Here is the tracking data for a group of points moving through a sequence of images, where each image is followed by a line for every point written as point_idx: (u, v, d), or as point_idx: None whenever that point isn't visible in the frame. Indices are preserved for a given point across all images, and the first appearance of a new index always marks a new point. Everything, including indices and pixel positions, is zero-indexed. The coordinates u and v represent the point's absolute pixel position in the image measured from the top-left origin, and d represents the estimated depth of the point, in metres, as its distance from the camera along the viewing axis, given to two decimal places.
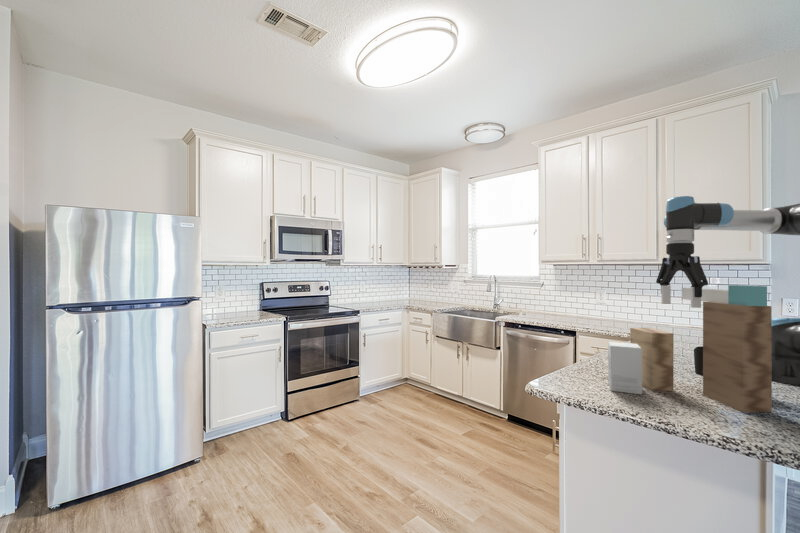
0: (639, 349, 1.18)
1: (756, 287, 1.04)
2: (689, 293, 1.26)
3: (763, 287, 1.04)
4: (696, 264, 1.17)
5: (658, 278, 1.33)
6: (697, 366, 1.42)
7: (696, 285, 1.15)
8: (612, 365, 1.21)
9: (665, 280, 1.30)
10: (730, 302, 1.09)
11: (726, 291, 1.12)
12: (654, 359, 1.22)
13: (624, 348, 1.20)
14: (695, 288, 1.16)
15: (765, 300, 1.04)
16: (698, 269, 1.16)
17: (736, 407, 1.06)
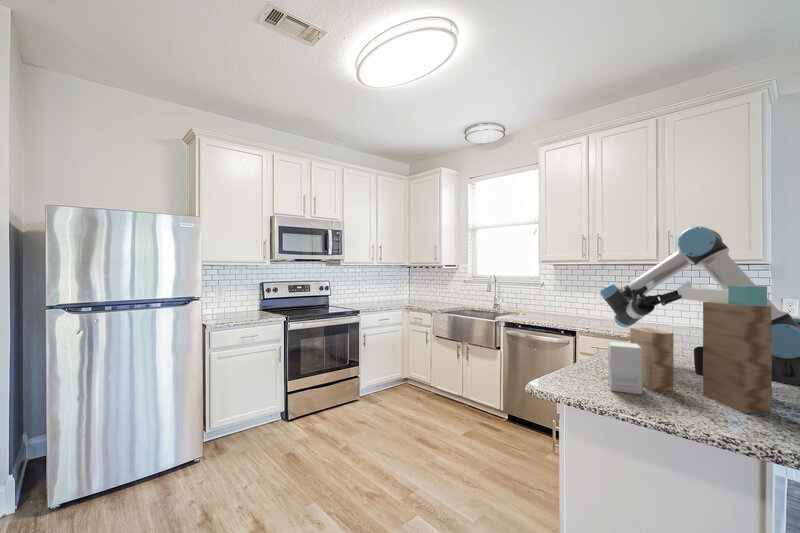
0: (639, 349, 1.18)
1: (756, 287, 1.04)
2: (689, 293, 1.26)
3: (763, 287, 1.04)
4: (632, 299, 1.50)
5: (681, 297, 1.45)
6: (697, 366, 1.42)
7: (639, 294, 1.44)
8: (612, 365, 1.21)
9: (674, 295, 1.44)
10: (730, 302, 1.09)
11: (726, 291, 1.12)
12: (654, 359, 1.22)
13: (624, 348, 1.20)
14: (642, 292, 1.43)
15: (765, 300, 1.04)
16: (632, 297, 1.49)
17: (736, 407, 1.06)
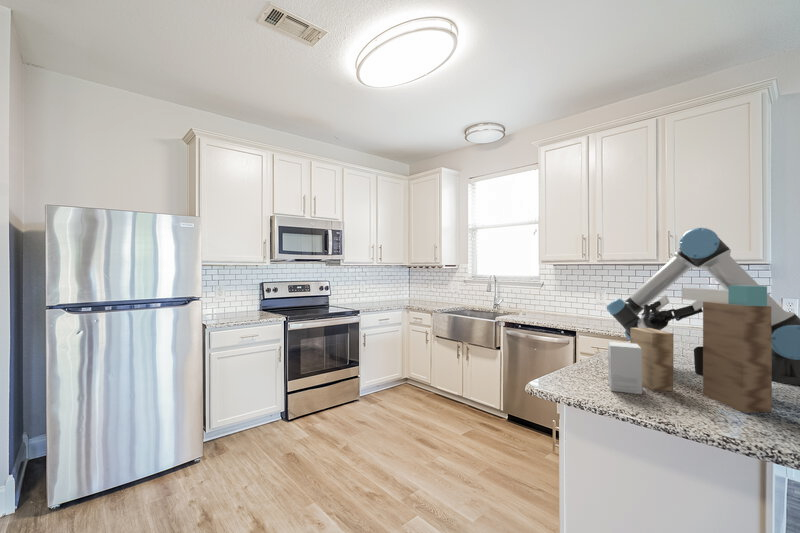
0: (639, 349, 1.18)
1: (756, 287, 1.04)
2: (689, 293, 1.26)
3: (763, 287, 1.04)
4: (644, 314, 1.41)
5: (697, 313, 1.36)
6: (697, 366, 1.42)
7: (652, 309, 1.35)
8: (612, 365, 1.21)
9: (689, 310, 1.36)
10: (730, 302, 1.09)
11: (726, 291, 1.12)
12: (654, 359, 1.22)
13: (624, 348, 1.20)
14: (656, 307, 1.34)
15: (765, 300, 1.04)
16: (644, 312, 1.40)
17: (736, 407, 1.06)
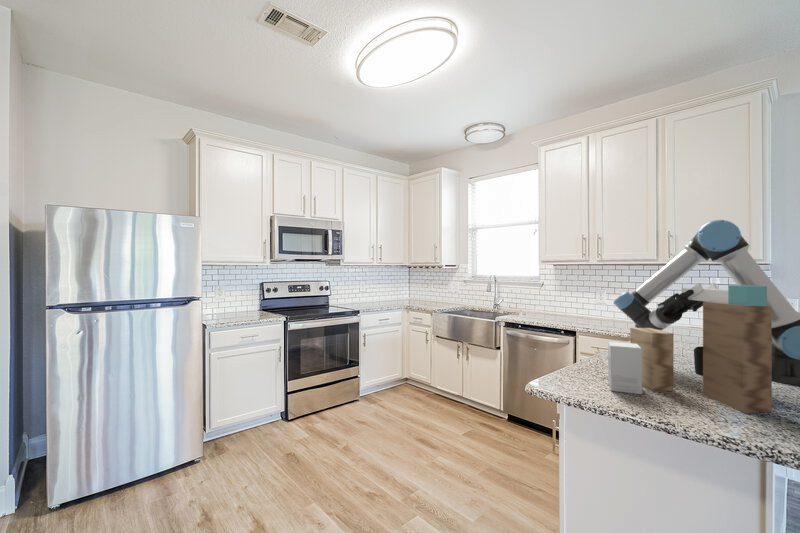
0: (639, 349, 1.18)
1: (756, 287, 1.04)
2: None
3: (763, 287, 1.04)
4: (664, 304, 1.33)
5: None
6: (697, 366, 1.42)
7: (684, 298, 1.26)
8: (612, 365, 1.21)
9: None
10: (730, 302, 1.09)
11: (726, 291, 1.12)
12: (654, 359, 1.22)
13: (624, 348, 1.20)
14: (688, 296, 1.26)
15: (765, 300, 1.04)
16: (667, 302, 1.32)
17: (736, 407, 1.06)
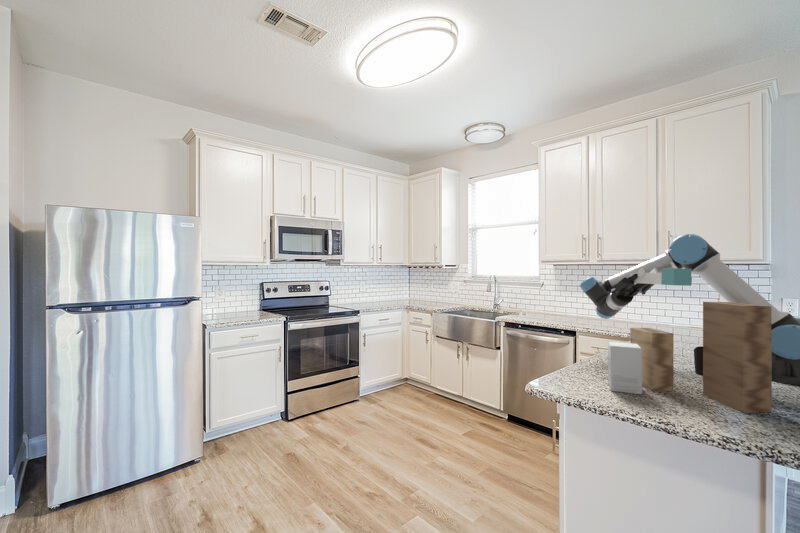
0: (639, 349, 1.18)
1: (682, 269, 1.20)
2: None
3: (688, 269, 1.20)
4: (615, 288, 1.50)
5: (651, 285, 1.44)
6: (697, 366, 1.42)
7: (631, 281, 1.43)
8: (612, 365, 1.21)
9: (643, 284, 1.44)
10: (662, 283, 1.26)
11: (660, 274, 1.28)
12: (654, 359, 1.22)
13: (624, 348, 1.20)
14: (633, 280, 1.42)
15: (689, 280, 1.20)
16: (617, 285, 1.48)
17: (736, 407, 1.06)
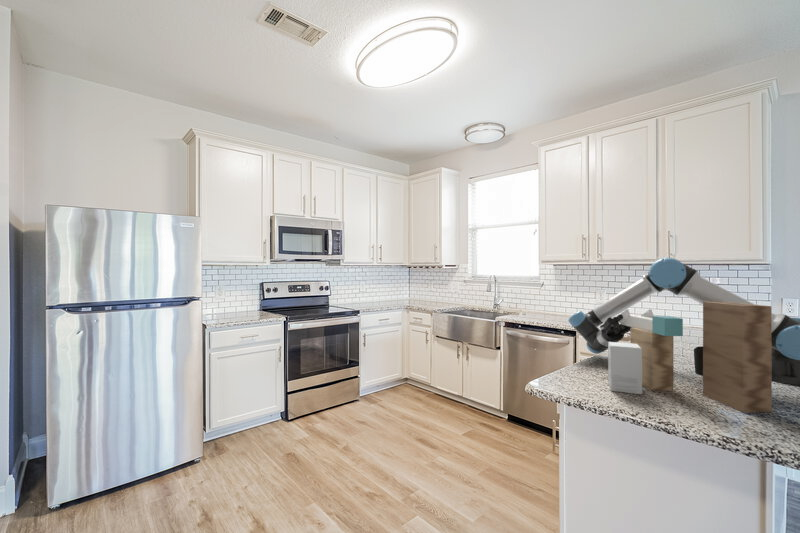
0: (639, 349, 1.18)
1: (673, 319, 1.17)
2: (626, 319, 1.39)
3: (679, 319, 1.17)
4: (604, 327, 1.47)
5: None
6: (697, 366, 1.42)
7: (615, 322, 1.40)
8: (612, 365, 1.21)
9: None
10: (653, 331, 1.22)
11: (651, 321, 1.25)
12: (654, 359, 1.22)
13: (624, 348, 1.20)
14: (618, 320, 1.39)
15: (681, 331, 1.17)
16: (605, 325, 1.45)
17: (736, 407, 1.06)
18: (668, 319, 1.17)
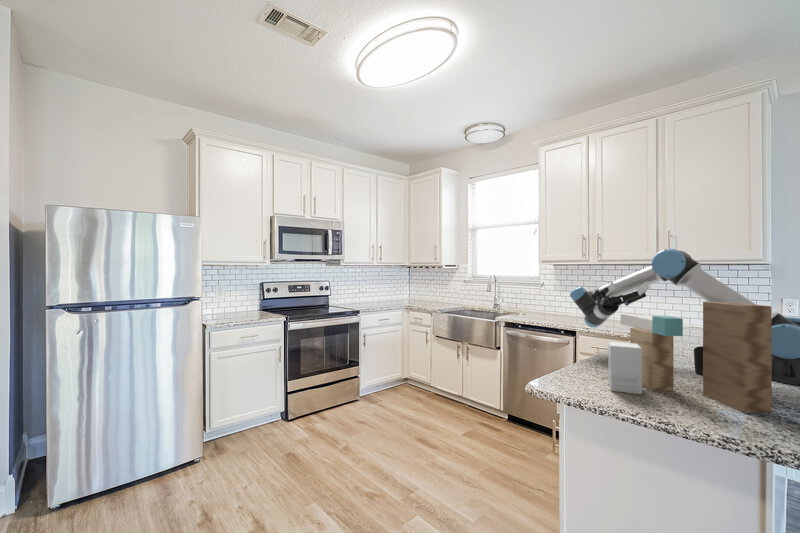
0: (639, 349, 1.18)
1: (673, 319, 1.17)
2: (626, 319, 1.39)
3: (679, 319, 1.17)
4: (597, 300, 1.59)
5: (641, 297, 1.54)
6: (697, 366, 1.42)
7: (602, 295, 1.52)
8: (612, 365, 1.21)
9: (635, 296, 1.53)
10: (653, 331, 1.22)
11: (651, 321, 1.25)
12: (654, 359, 1.22)
13: (624, 348, 1.20)
14: (605, 293, 1.52)
15: (681, 331, 1.17)
16: (596, 298, 1.57)
17: (736, 407, 1.06)
18: (668, 319, 1.17)
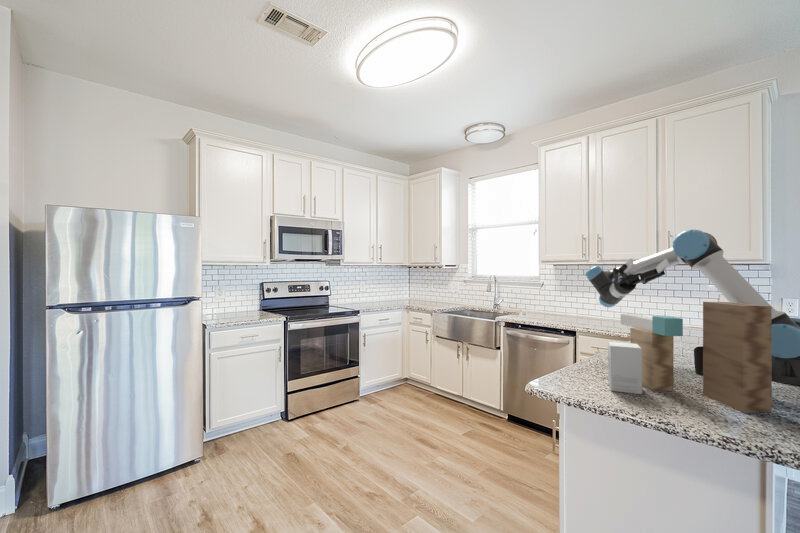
0: (639, 349, 1.18)
1: (673, 319, 1.17)
2: (626, 319, 1.39)
3: (679, 319, 1.17)
4: (614, 278, 1.56)
5: (660, 275, 1.51)
6: (697, 366, 1.42)
7: (620, 272, 1.50)
8: (612, 365, 1.21)
9: (653, 273, 1.51)
10: (653, 331, 1.22)
11: (651, 321, 1.25)
12: (654, 359, 1.22)
13: (624, 348, 1.20)
14: (623, 270, 1.49)
15: (681, 331, 1.17)
16: (614, 276, 1.55)
17: (736, 407, 1.06)
18: (668, 319, 1.17)
